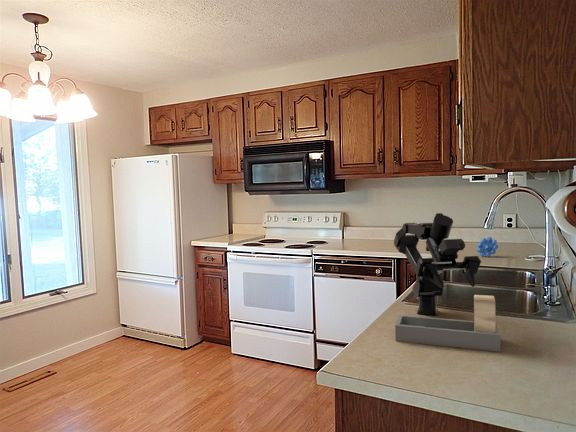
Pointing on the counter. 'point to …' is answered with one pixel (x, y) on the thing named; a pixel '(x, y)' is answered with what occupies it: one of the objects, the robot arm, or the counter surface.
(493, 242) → the grapes
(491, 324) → the birch block
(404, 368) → the counter surface
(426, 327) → the box
